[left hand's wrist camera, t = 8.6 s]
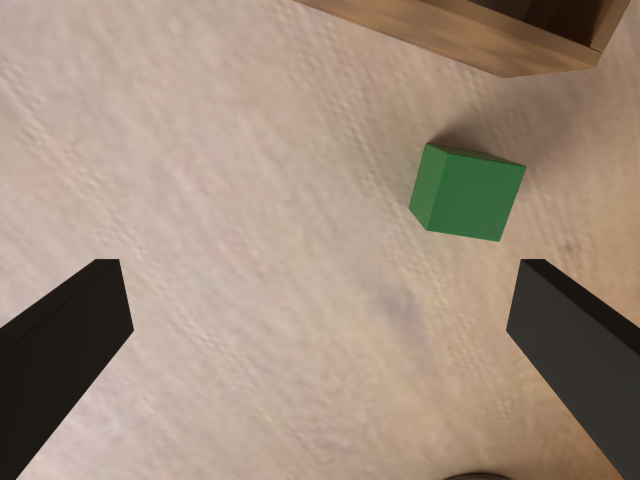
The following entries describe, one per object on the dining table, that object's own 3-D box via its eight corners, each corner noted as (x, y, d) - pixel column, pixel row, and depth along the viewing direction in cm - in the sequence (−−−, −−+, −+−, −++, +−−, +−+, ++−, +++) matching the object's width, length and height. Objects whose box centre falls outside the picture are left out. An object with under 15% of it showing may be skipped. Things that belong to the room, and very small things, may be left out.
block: (491, 154, 30) (527, 166, 25) (470, 219, 32) (499, 242, 27) (425, 143, 30) (447, 152, 25) (408, 208, 32) (425, 230, 26)
